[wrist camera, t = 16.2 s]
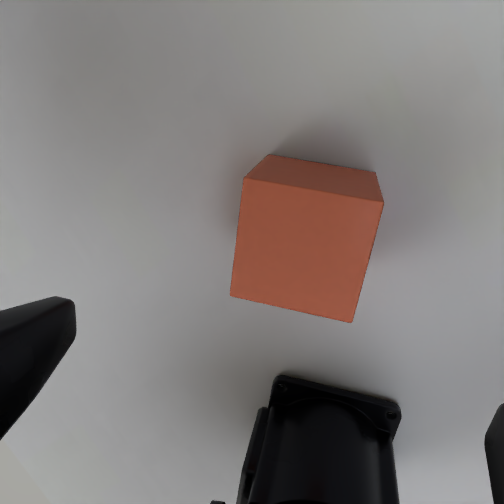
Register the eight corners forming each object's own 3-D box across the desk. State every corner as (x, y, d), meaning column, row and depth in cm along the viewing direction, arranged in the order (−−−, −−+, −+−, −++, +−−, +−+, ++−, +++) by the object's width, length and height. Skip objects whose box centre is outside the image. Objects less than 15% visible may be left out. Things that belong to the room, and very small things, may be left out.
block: (376, 172, 17) (384, 202, 13) (351, 270, 19) (352, 323, 14) (267, 153, 17) (243, 176, 13) (254, 250, 19) (229, 296, 15)
